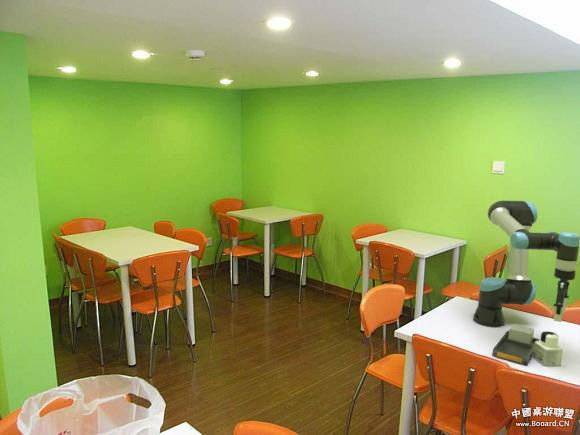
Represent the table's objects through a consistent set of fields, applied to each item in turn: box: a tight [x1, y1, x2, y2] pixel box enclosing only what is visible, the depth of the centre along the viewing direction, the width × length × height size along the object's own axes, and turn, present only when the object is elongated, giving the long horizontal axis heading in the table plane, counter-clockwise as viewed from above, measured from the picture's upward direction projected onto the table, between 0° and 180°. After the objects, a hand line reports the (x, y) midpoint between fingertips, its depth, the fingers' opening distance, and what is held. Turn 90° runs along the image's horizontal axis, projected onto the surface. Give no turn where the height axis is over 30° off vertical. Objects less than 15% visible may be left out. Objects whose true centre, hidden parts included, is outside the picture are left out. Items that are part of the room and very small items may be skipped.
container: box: [532, 331, 564, 367], centre depth 194 cm, size 8×8×13 cm
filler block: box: [508, 323, 535, 345], centre depth 210 cm, size 9×8×6 cm
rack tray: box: [492, 330, 541, 367], centre depth 205 cm, size 14×27×3 cm, turn 142°
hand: (559, 316), depth 194 cm, fingers open, 13 cm apart
